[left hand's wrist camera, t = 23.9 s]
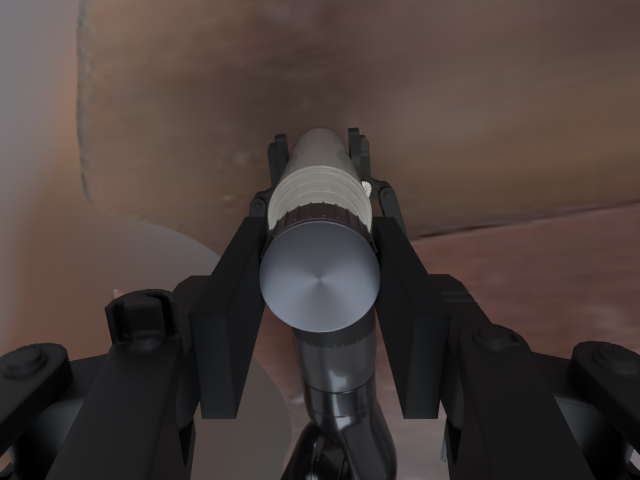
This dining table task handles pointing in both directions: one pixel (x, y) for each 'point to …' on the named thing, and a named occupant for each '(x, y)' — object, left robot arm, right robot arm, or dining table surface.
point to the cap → (319, 268)
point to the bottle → (319, 178)
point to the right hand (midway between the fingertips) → (316, 133)
